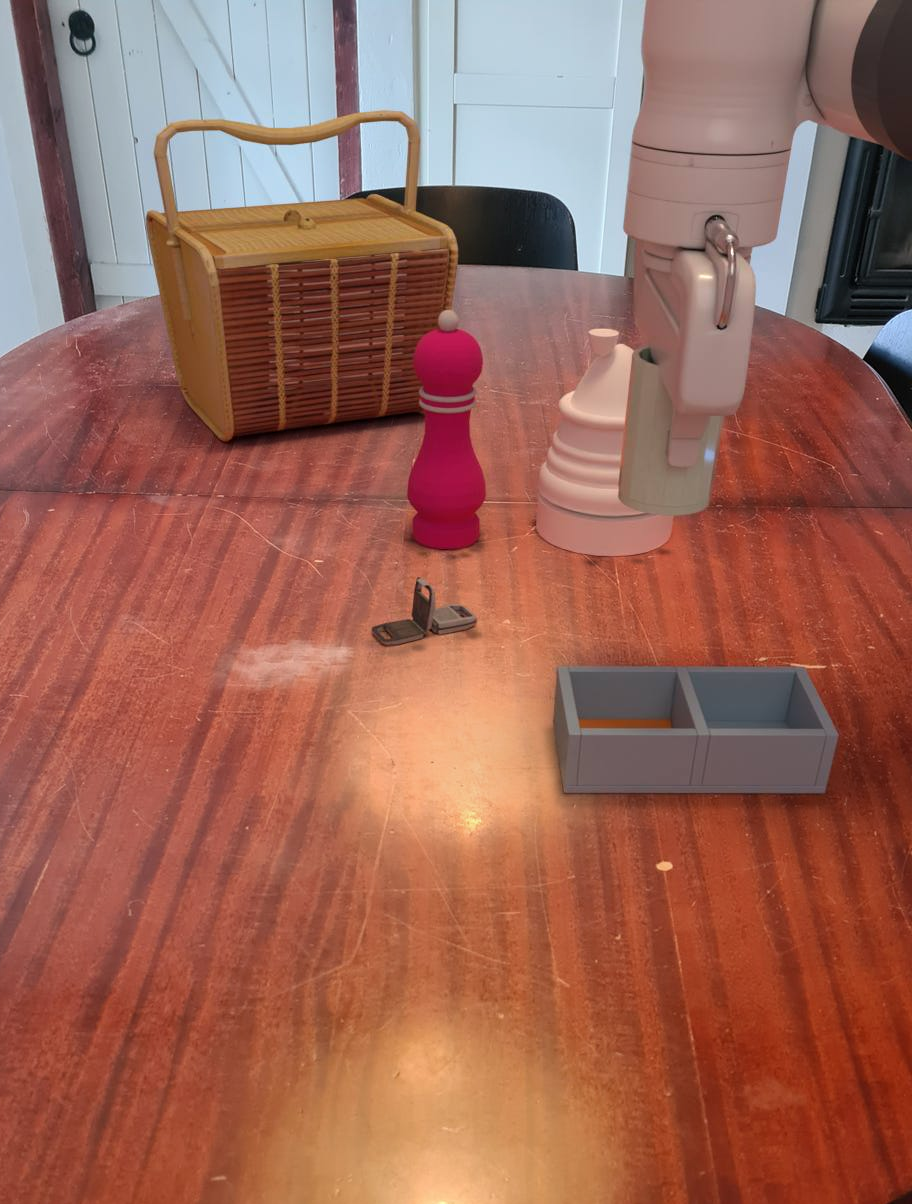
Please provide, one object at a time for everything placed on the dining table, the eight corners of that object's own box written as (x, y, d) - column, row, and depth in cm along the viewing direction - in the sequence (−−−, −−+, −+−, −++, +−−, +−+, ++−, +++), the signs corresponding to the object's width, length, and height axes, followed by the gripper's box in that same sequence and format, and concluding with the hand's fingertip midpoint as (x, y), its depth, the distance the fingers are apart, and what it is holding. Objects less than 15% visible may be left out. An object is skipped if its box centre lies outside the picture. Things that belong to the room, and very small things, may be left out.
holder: (792, 722, 89) (804, 666, 86) (825, 794, 82) (839, 734, 79) (552, 722, 89) (556, 665, 86) (563, 793, 82) (568, 734, 79)
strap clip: (463, 612, 103) (463, 564, 101) (479, 627, 101) (481, 578, 98) (369, 632, 100) (367, 583, 98) (384, 648, 98) (383, 598, 96)
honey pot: (591, 567, 110) (609, 358, 99) (509, 519, 119) (517, 322, 108) (699, 537, 116) (728, 336, 105) (613, 494, 124) (632, 304, 114)
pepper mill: (476, 519, 119) (481, 298, 107) (491, 549, 113) (499, 319, 101) (402, 524, 118) (399, 301, 106) (414, 554, 112) (412, 322, 100)
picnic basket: (216, 462, 131) (184, 138, 113) (156, 393, 150) (120, 106, 132) (465, 427, 141) (472, 123, 122) (379, 366, 159) (374, 95, 141)
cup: (701, 482, 84) (722, 343, 78) (717, 516, 79) (740, 371, 73) (613, 481, 84) (627, 342, 78) (623, 515, 79) (639, 369, 73)
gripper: (799, 240, 62) (753, 505, 71) (726, 174, 79) (695, 395, 87) (675, 238, 62) (643, 503, 71) (627, 172, 79) (605, 393, 87)
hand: (671, 442), depth 79 cm, fingers closed on cup, 6 cm apart
